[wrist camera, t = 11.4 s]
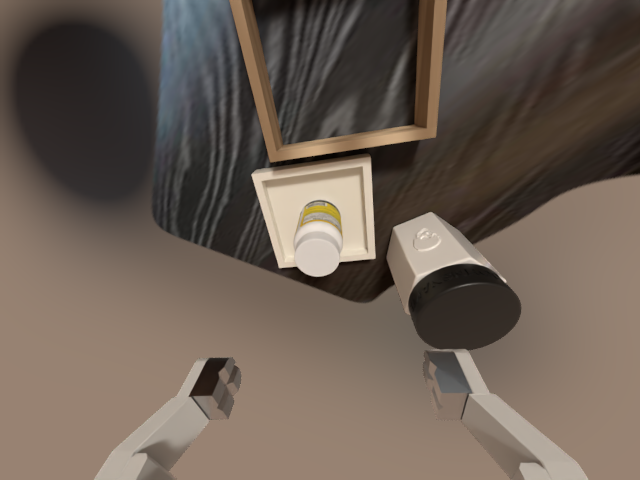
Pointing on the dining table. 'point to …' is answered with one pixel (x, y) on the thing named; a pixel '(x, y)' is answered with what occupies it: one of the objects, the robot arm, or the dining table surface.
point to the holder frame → (423, 128)
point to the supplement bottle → (318, 238)
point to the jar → (449, 286)
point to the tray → (319, 183)
